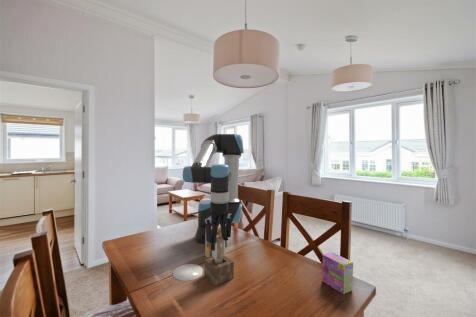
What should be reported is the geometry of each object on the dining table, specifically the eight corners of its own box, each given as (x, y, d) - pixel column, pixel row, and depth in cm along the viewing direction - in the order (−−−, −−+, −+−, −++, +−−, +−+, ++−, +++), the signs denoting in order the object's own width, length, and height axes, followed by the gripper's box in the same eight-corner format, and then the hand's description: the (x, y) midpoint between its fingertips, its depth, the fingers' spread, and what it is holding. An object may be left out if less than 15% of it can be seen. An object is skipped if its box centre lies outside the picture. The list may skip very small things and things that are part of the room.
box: (321, 281, 96) (322, 254, 95) (330, 277, 99) (331, 251, 98) (343, 295, 87) (344, 265, 86) (352, 290, 90) (353, 262, 89)
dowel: (219, 271, 98) (220, 235, 97) (223, 274, 96) (224, 237, 95) (212, 273, 96) (213, 237, 95) (217, 277, 93) (217, 239, 93)
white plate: (194, 263, 108) (194, 261, 108) (208, 276, 98) (208, 273, 98) (168, 272, 100) (168, 269, 100) (180, 287, 90) (180, 284, 90)
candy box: (221, 253, 119) (221, 225, 118) (223, 257, 115) (224, 227, 114) (204, 255, 116) (205, 226, 115) (206, 259, 112) (207, 229, 111)
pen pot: (221, 270, 102) (222, 253, 102) (233, 280, 95) (234, 261, 95) (204, 277, 97) (204, 259, 96) (215, 288, 90) (216, 268, 89)
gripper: (229, 197, 102) (229, 247, 103) (197, 202, 92) (196, 257, 93) (240, 200, 96) (239, 253, 98) (206, 206, 86) (206, 265, 87)
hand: (218, 255), depth 95 cm, fingers closed on dowel, 3 cm apart
